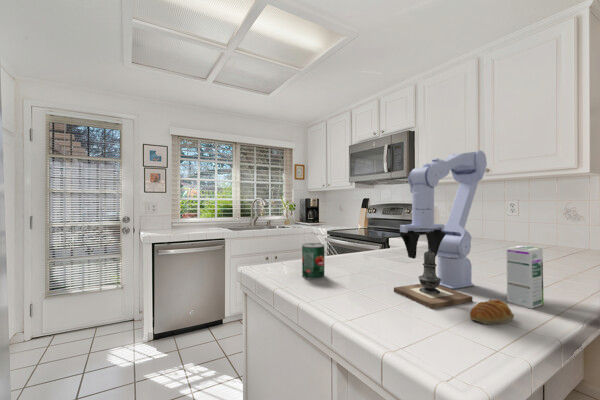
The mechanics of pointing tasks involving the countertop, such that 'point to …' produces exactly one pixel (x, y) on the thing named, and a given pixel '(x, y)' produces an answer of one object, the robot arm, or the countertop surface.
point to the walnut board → (433, 296)
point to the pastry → (491, 312)
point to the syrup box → (525, 276)
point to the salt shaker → (429, 274)
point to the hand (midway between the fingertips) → (422, 257)
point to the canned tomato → (313, 261)
